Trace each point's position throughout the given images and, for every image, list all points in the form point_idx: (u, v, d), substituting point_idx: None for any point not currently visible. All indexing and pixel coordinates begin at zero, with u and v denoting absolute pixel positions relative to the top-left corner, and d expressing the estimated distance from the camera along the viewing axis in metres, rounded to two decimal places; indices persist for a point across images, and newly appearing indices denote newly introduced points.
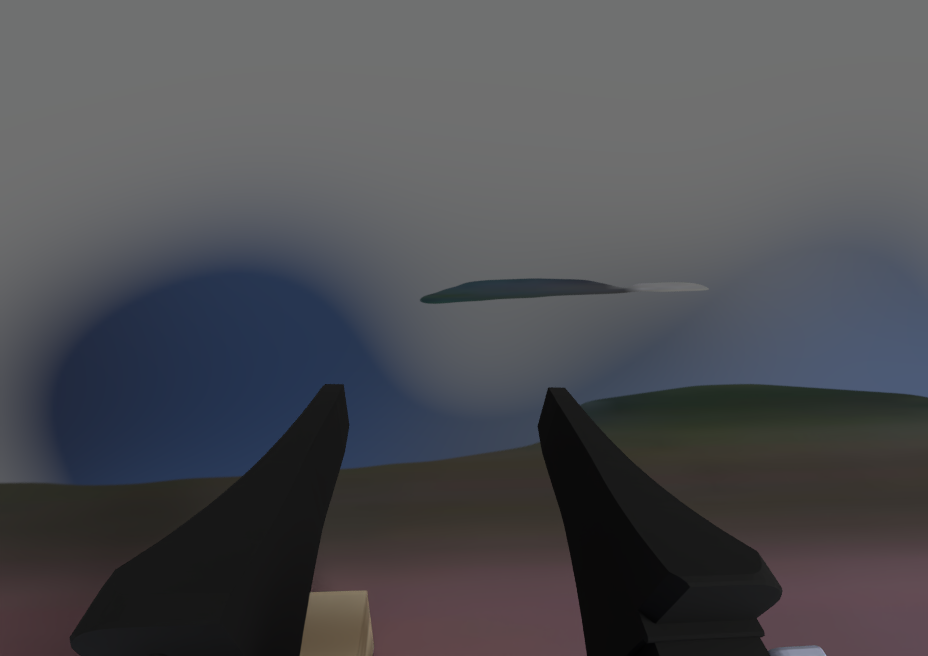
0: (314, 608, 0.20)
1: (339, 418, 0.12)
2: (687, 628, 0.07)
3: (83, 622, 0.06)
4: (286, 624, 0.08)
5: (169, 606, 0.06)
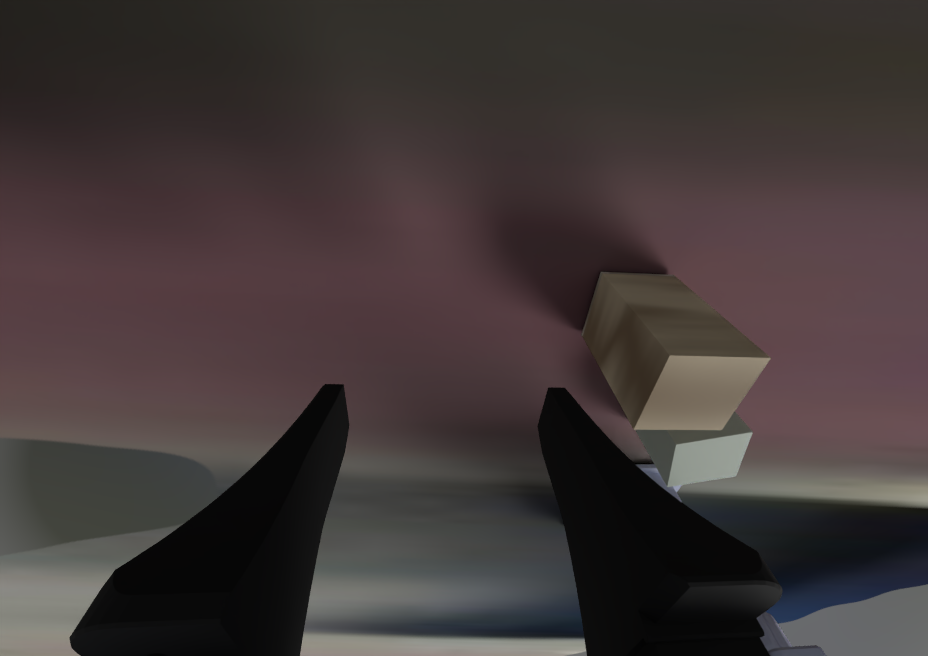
0: (695, 372, 0.14)
1: (339, 418, 0.12)
2: (687, 628, 0.07)
3: (83, 622, 0.06)
4: (286, 624, 0.08)
5: (169, 606, 0.06)
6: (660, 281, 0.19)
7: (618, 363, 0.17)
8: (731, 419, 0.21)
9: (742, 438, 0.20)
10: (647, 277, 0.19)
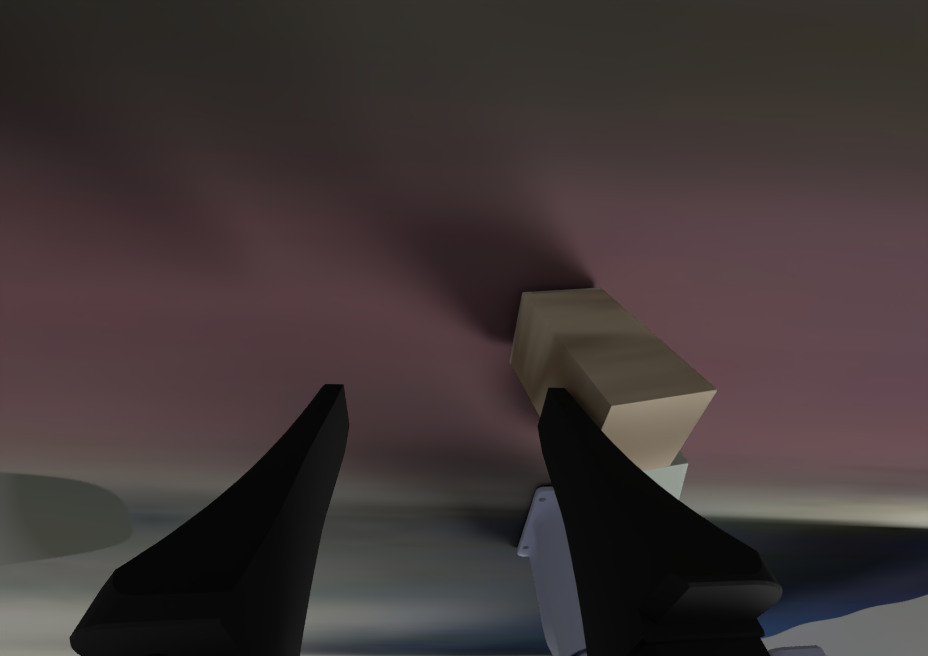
0: (640, 417, 0.12)
1: (339, 418, 0.12)
2: (687, 628, 0.07)
3: (83, 622, 0.06)
4: (286, 624, 0.08)
5: (169, 606, 0.06)
6: (588, 298, 0.17)
7: None
8: None
9: (678, 469, 0.18)
10: (573, 293, 0.17)
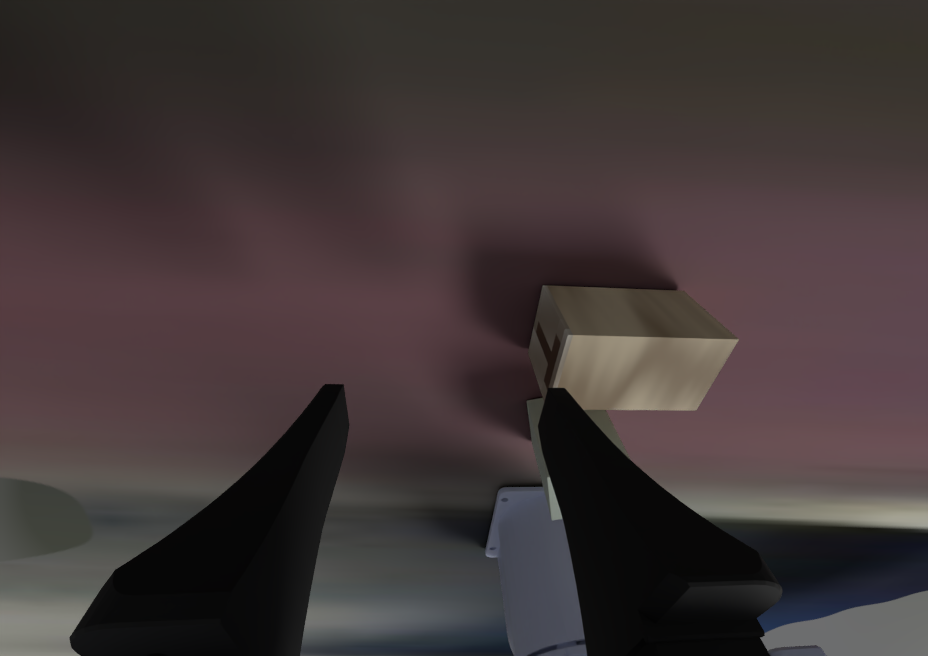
0: None
1: (339, 418, 0.12)
2: (687, 628, 0.07)
3: (83, 622, 0.06)
4: (286, 624, 0.08)
5: (169, 606, 0.06)
6: (567, 298, 0.17)
7: (650, 387, 0.16)
8: None
9: None
10: (561, 303, 0.16)
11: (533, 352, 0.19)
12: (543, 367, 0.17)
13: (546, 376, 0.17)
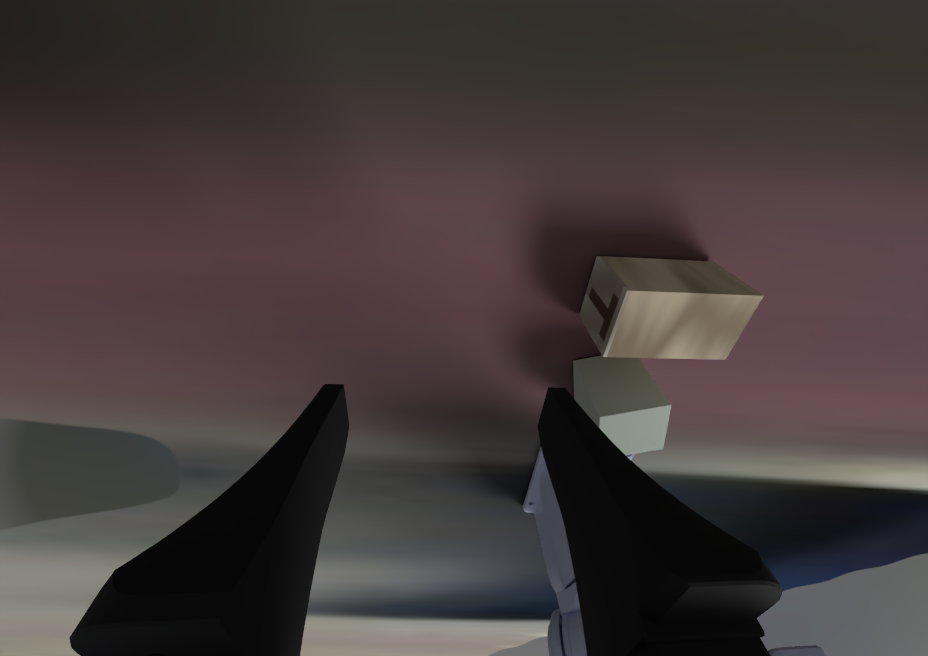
0: None
1: (339, 418, 0.12)
2: (687, 628, 0.07)
3: (83, 622, 0.06)
4: (286, 624, 0.08)
5: (169, 606, 0.06)
6: (620, 265, 0.20)
7: (689, 337, 0.19)
8: (654, 393, 0.22)
9: (663, 410, 0.21)
10: (616, 269, 0.19)
11: (586, 314, 0.22)
12: (598, 323, 0.20)
13: (602, 330, 0.20)
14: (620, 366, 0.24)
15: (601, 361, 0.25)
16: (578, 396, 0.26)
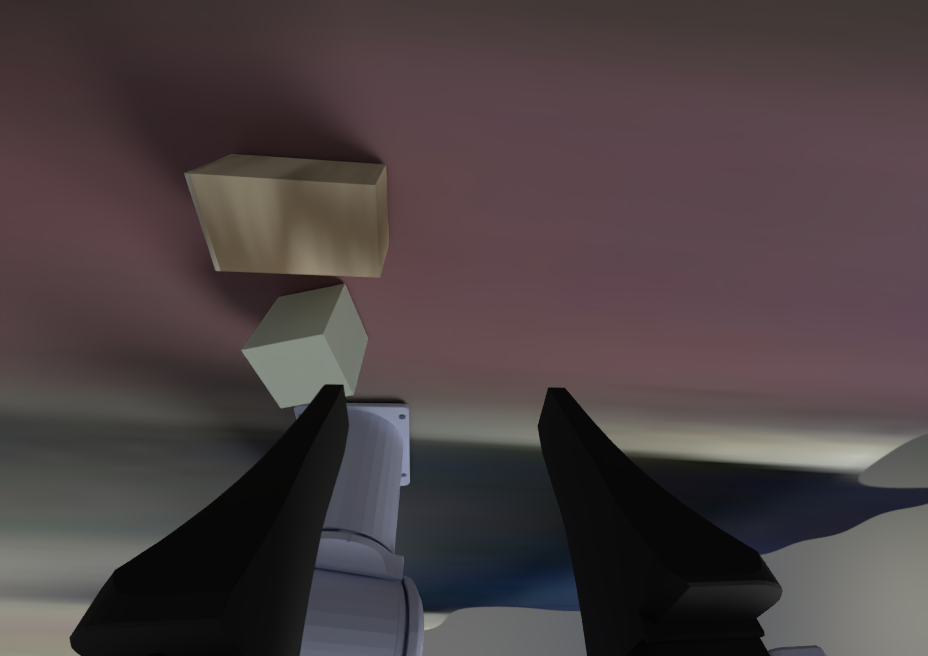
0: (380, 196, 0.16)
1: (339, 418, 0.12)
2: (687, 628, 0.07)
3: (83, 622, 0.06)
4: (286, 624, 0.08)
5: (169, 606, 0.06)
6: (240, 160, 0.16)
7: (312, 245, 0.16)
8: (318, 324, 0.18)
9: (317, 342, 0.17)
10: (225, 161, 0.16)
11: None
12: None
13: None
14: (316, 300, 0.20)
15: (303, 296, 0.21)
16: None
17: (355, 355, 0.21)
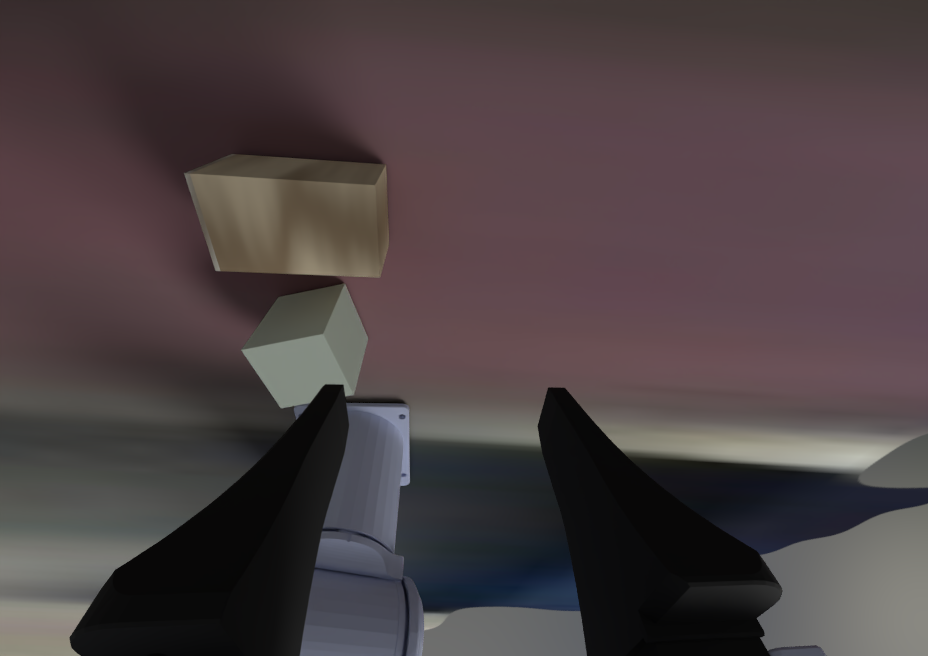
0: (380, 196, 0.16)
1: (339, 418, 0.12)
2: (687, 628, 0.07)
3: (83, 622, 0.06)
4: (286, 624, 0.08)
5: (169, 606, 0.06)
6: (240, 160, 0.16)
7: (312, 245, 0.16)
8: (318, 324, 0.18)
9: (318, 342, 0.17)
10: (225, 161, 0.16)
11: None
12: None
13: None
14: (316, 300, 0.20)
15: (303, 296, 0.21)
16: None
17: (355, 355, 0.21)
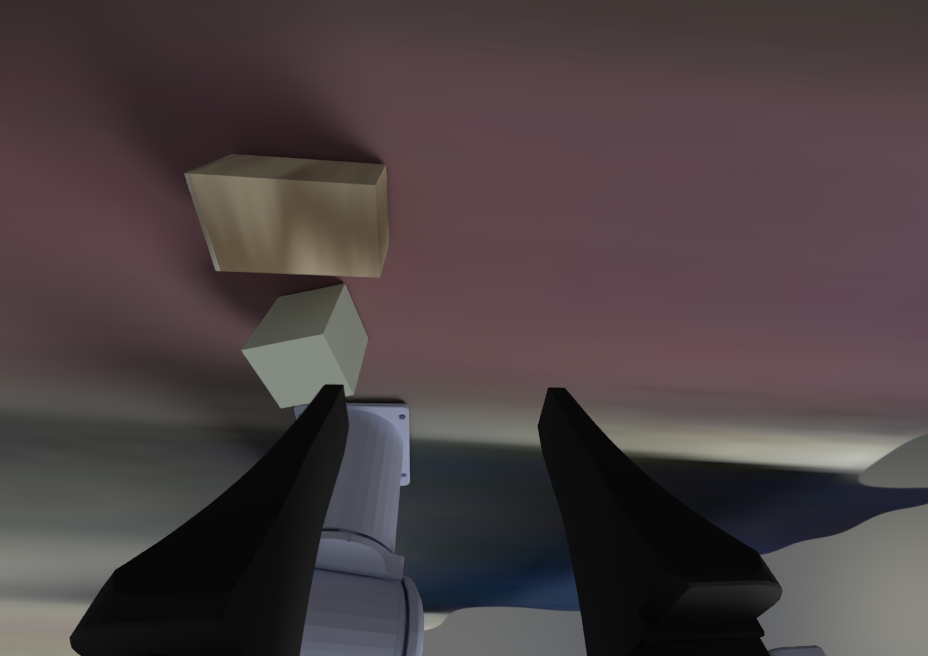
0: (380, 196, 0.16)
1: (339, 418, 0.12)
2: (687, 628, 0.07)
3: (83, 622, 0.06)
4: (286, 624, 0.08)
5: (169, 606, 0.06)
6: (240, 160, 0.16)
7: (312, 245, 0.16)
8: (318, 324, 0.18)
9: (317, 342, 0.17)
10: (225, 161, 0.16)
11: None
12: None
13: None
14: (316, 300, 0.20)
15: (303, 296, 0.21)
16: None
17: (355, 355, 0.21)
